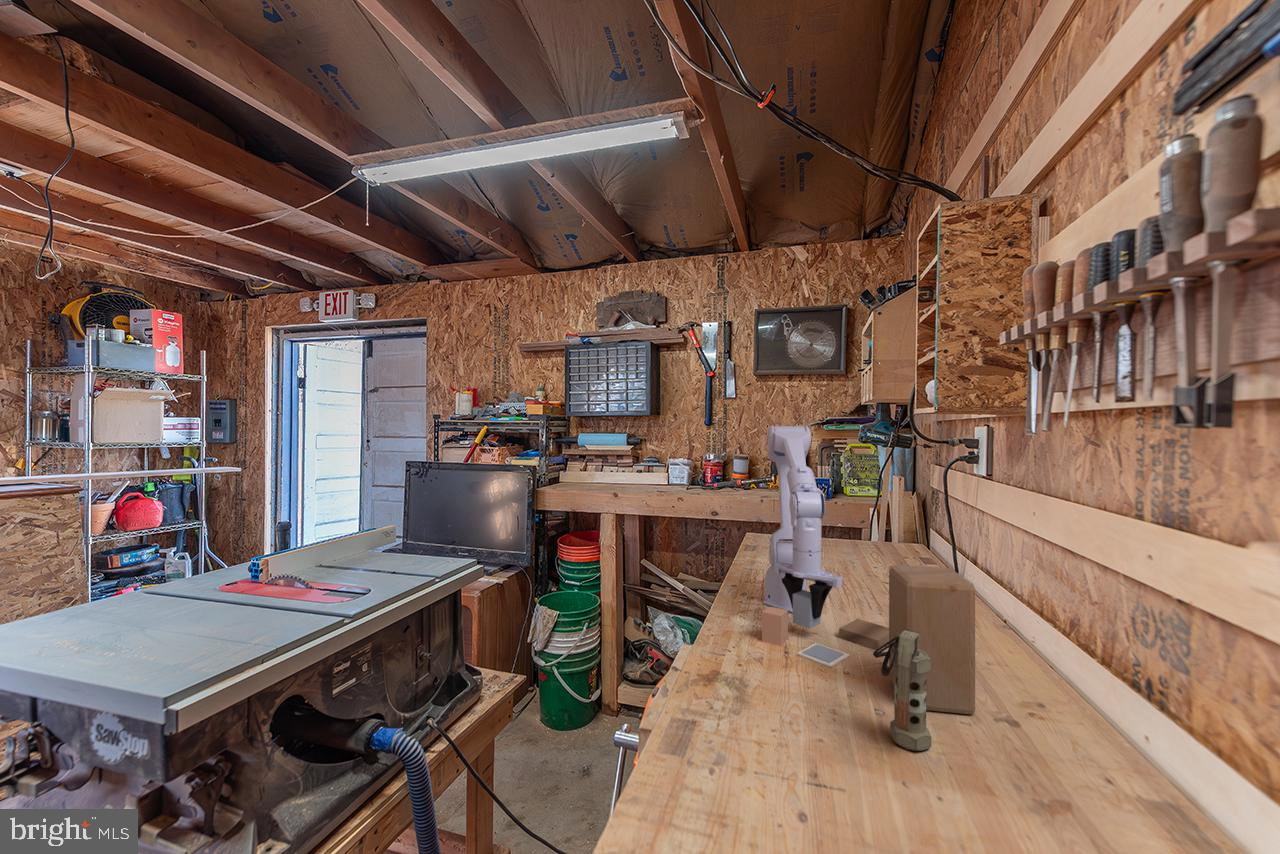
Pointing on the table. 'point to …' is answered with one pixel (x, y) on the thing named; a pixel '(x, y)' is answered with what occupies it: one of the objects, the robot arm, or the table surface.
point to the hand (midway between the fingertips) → (806, 614)
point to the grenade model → (908, 690)
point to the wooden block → (938, 630)
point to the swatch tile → (823, 655)
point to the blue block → (803, 609)
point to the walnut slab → (865, 634)
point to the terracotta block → (775, 626)
